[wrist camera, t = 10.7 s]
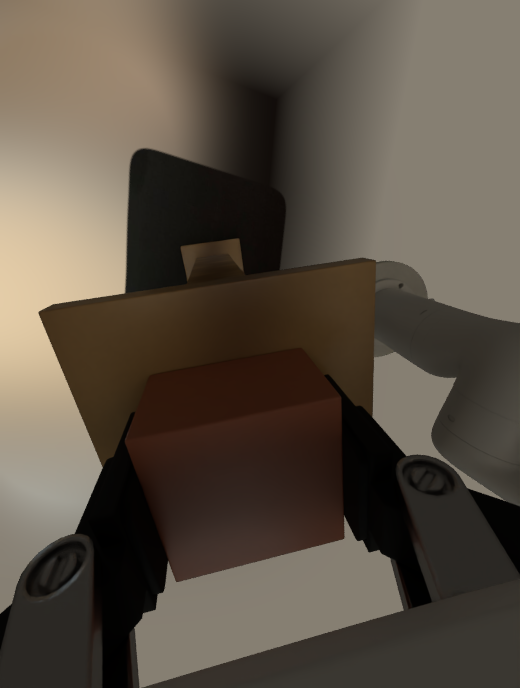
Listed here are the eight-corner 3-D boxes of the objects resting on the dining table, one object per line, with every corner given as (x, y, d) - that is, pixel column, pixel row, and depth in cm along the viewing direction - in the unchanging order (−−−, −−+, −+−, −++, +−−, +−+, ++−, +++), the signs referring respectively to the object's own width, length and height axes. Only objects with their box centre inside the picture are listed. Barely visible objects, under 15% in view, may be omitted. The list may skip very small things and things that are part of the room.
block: (302, 346, 10) (342, 396, 7) (310, 462, 12) (345, 539, 9) (148, 374, 9) (123, 441, 6) (183, 491, 11) (175, 583, 8)
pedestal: (241, 234, 47) (376, 260, 9) (249, 296, 51) (371, 494, 13) (176, 242, 46) (36, 311, 8) (190, 306, 50) (136, 550, 12)
